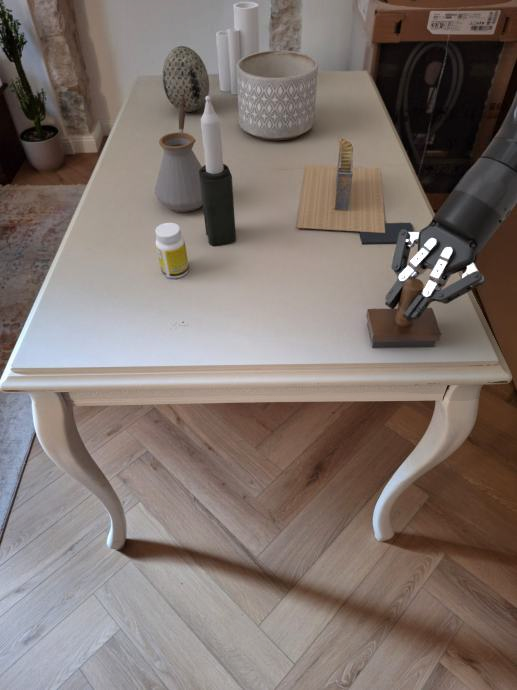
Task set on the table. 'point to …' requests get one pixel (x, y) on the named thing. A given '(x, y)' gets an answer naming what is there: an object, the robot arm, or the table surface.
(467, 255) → the robot arm
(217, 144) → the candle
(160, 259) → the supplement bottle
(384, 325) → the brown block with cylinder
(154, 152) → the table surface
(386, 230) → the mat
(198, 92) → the decorative egg
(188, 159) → the grey ribbed jar
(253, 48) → the vase
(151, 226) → the table surface
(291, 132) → the planter
